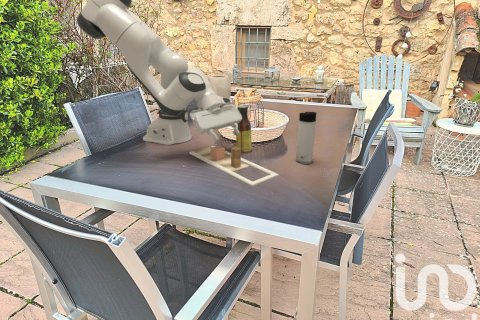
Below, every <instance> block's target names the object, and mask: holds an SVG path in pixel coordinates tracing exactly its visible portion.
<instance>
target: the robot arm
mask: <svg viewBox="0 0 480 320" xmlns="http://www.w3.org/2000/svg"><path fill="white" fill-rule="evenodd" d="M132 1H133V0H87V2H86V4H85V5H84V6H83V8H82V10H81V11H80V12H79V13H78V15H77V18H76V22H77V23H76V24H77V26H78V27H79V29H81V32H83V33H84V34H85V35H87V36H88V37H90V38H92V39H94V40H100V39H103V38H107V39H108V40H109V41H111V43H112V44H113V45H115V46H116V47H117V49H118V50H119V51H120V53H122V55H123V56H124V58H125V61H126V67H127V68H128V70H129V71H130V73H131V74H132V75H133V76H134V78H135V79H136V80H137V81H138V82H139V83H140V85H141V86H142V88H143V89H145V91H146V92H147V93H148V95H149V96H151V98H152V99H153V101H155V103H156V104H157V106H158V108H159V110H158V111H157V112H156V115H158V117H157V118H156V119H154V120H153V121H152V122H151V123H149V125H148V127H147V132H146V134H145V135H143V136H142V141H144V142H150V143H154V144H155V143H156V144H160V145H166V146H170V145H174V144H180V143H187V142H188V141H190V140H191V139H193V138H192V137H193V136H192V133H191V131H190V126H189V117H190V119H191V120H192V123H193V126H194V128H195V131H196V133H198V134H199V135H202V134H205V133H206V134H207V135H208V136H209V137H211V138H212V139H213V141H214V142H218V141H220V140H221V137H220V135H219V134H216V133H215V132H214V131H217V130H220V129H224V128H228V127H232V129H233V131H232V134H233V135H234V136H236V135H238V134H239V131H238V123H240V122H241V120H242V115H241V114H240V112H239V110H238V106H236V105H235V104H233V100H232V98H231V97H230V98H225V97H220V96H217V94H216V93H215V92H214V91H213V88H212V85H211V83H210V82H209V80H208V77H207V75H206V74H205V73H204V72H203V71H202V70H201V69H199V68H196V67H194V68H193V67H192V68H189V65H188V61H187V60H186V58H185V57H184V56H183V55H182V54H181V53H178V52H175V51H173V50H172V49H171V48H170V47H169V46H168V45H167V44H166V43H165V42H164V41H163V40H162V38H161V37H159V35H158V34H157V33H156V32H155V31H153V29H152V28H151V27H150V26H149V25H147V23H145V22H144V21H143V20H142V19H141V18H140V17H138V16H137V15H136V14H135V13H134V12H132V11H131V10H129V9H132V5H131V4H132ZM128 8H129V9H128ZM149 65H150V66H151V67H152V68H153V69H155V70H156V71H157V72H158V73H159V74H160V82H159V81H158V79H156V77H154V75H153V74H152V72H151V71H150V67H149ZM192 101H195V105H196V107H197V109H193V110H191V111H190V112H188V111H189V110H188V107H187V106H189V104H190V103H191V102H192Z"/></svg>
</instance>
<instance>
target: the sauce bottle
mask: <svg viewBox="0 0 480 320" xmlns="http://www.w3.org/2000/svg"><path fill="white" fill-rule="evenodd" d="M237 109H238V110H239V112H240V114H241V115H242V120H241V122H240V123H238V131H239V134H238V135H235V139H236V140H235V141H236V142H235V143H236V146H235V147H238V148H241V154H242V153H243V154H244V153H250V152H252V144H253V143H252V126H251V122H250V119H249V117H248V116H249V115H248V110H249V107H248V105H243V104H241V105H238V106H237Z"/></svg>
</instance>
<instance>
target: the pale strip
mask: <svg viewBox="0 0 480 320" xmlns="http://www.w3.org/2000/svg"><path fill="white" fill-rule="evenodd" d="M210 148H211V147H210V146H208V147H204V148H200V149H197V150H194V151H193V152H195V153H197V154H199V155H201V156H203V157H205V158H207V159H209V160H211V161H213V162H215V163H217V164H219V165H221V166H223V167H225V168H227V169H229V170H231V171H233V172H236V171H240V170H243V169H245V168H249V167H250V165H248V164H246V163H244V162H241V158H242V152H241V148H238V147H237V146H234V147H230V153H231V157H230V156H228V155H226V154H225V158H223V159H220V160H215V159H213V158H211V149H210Z"/></svg>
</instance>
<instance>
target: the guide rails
mask: <svg viewBox="0 0 480 320" xmlns="http://www.w3.org/2000/svg"><path fill="white" fill-rule="evenodd" d="M215 146H216V145H211V146H210V148H211V147H215ZM188 153H189V155H192V156H193V157H195V158H197V159H199V160H201V161H203V162H205V163H207V164H209V165H211V166H212V167H215V168H217V169H218V170H220V171H222V172H224V173H226V174H227V175H230V176H232V177H234V178H236V179H238V180H240V181H242V182H244V183H245V184H247V185H249V186H251V187H254V186H256V185H259V184H262V183H263V182H266V181H269V180H271V179H274V178H276V177H277V178H278V177H279V175H280V174H279V173H276V172H274V171H273V170H270V169H268V168H266V167H263V166H261V165H258V164H256V163H254V162H252V161H249V160H248V159H246V158H243V157H241V162H242V163H244V164H246V165H249V167H250V166H251V167H252V168H255V169H257V170H259V171H262V172H264V173H266V174H268V175H266V176H263V177H261V178H258V179H256V180H250V179H249V178H246V177H244V176H242V175H241V174H238V173H236V171H234V172H233V171H231V170H229V169H227V168H225V167H223V166H221V165H219V164H217V163H215V162H213V161H211V160H209V159H207V158H205V157H203V156H201V155H199V154H197V153H195V152H193V151H189V152H188ZM225 155H227V156H229V157H231V151H227V150H225Z"/></svg>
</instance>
